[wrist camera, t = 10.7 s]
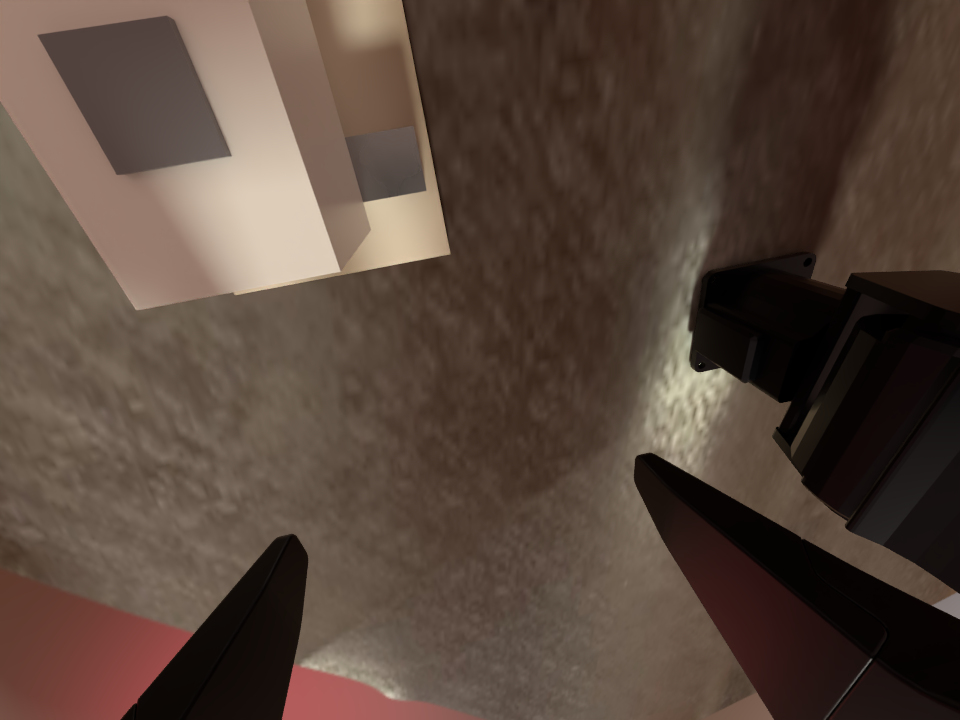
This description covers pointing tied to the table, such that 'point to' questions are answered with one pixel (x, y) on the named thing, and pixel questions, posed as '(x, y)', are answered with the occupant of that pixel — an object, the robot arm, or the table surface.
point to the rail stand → (380, 131)
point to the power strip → (186, 139)
